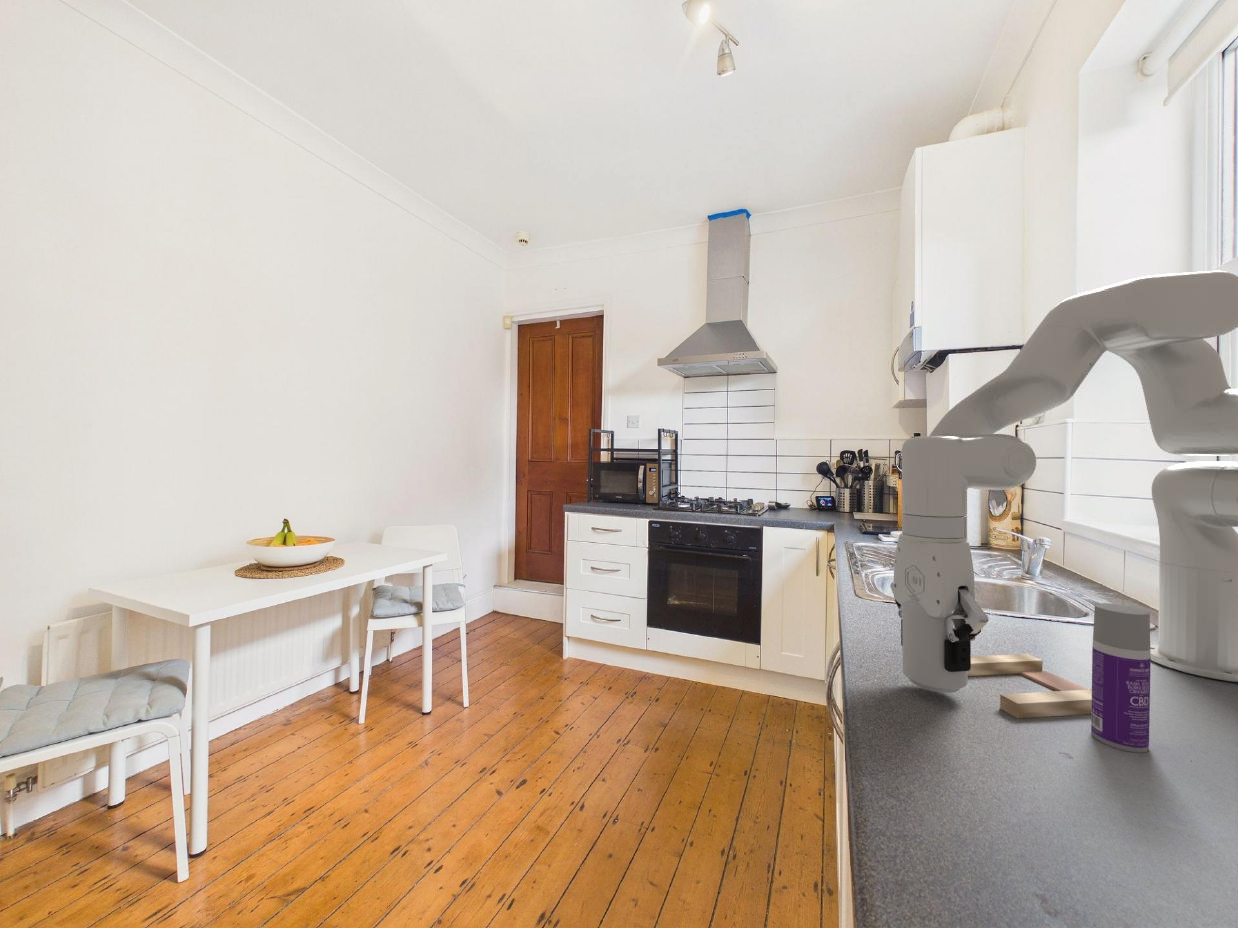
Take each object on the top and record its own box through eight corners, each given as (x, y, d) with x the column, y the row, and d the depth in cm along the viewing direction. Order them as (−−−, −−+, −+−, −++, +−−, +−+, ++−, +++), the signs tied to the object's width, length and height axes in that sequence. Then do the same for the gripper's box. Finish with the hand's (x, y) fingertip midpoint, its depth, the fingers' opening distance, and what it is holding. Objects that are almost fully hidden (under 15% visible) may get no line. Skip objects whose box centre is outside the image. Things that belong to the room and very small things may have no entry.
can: (977, 698, 65) (977, 604, 64) (911, 692, 67) (911, 600, 66) (955, 674, 72) (954, 589, 72) (896, 668, 74) (895, 586, 74)
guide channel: (1027, 665, 79) (1027, 653, 79) (1131, 711, 65) (1131, 697, 65) (931, 669, 77) (932, 658, 77) (1017, 718, 63) (1017, 703, 63)
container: (1138, 757, 55) (1141, 617, 54) (1083, 735, 59) (1085, 605, 59) (1156, 745, 57) (1158, 611, 57) (1101, 726, 61) (1103, 600, 61)
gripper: (868, 520, 77) (868, 637, 77) (958, 538, 60) (958, 688, 60) (914, 519, 78) (914, 634, 78) (1016, 536, 61) (1016, 684, 61)
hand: (933, 657), depth 69 cm, fingers closed on can, 7 cm apart
